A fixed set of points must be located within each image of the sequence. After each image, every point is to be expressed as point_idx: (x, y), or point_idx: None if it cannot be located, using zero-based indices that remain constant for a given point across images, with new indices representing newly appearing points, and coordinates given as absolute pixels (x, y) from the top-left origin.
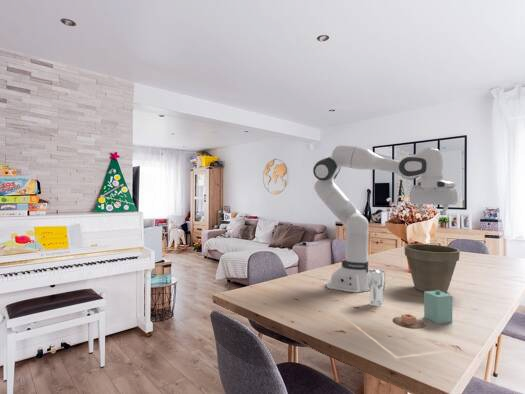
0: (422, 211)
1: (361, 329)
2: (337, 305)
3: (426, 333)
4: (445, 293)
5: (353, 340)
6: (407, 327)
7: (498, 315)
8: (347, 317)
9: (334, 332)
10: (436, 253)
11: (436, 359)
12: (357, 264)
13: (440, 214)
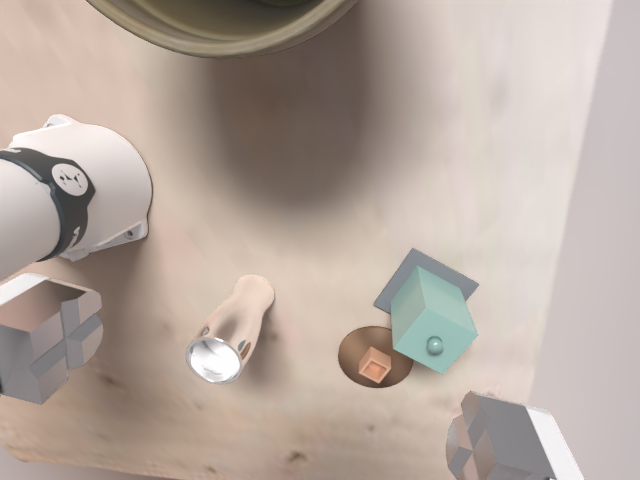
0: (45, 385)
1: (317, 432)
2: None
3: (424, 378)
4: (454, 325)
5: (333, 472)
6: (384, 385)
7: (579, 105)
8: (261, 401)
9: (291, 465)
10: (322, 22)
11: None
12: (60, 252)
13: (449, 451)
